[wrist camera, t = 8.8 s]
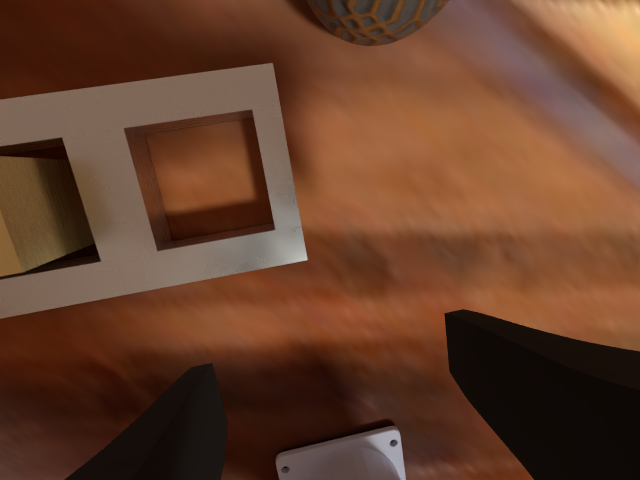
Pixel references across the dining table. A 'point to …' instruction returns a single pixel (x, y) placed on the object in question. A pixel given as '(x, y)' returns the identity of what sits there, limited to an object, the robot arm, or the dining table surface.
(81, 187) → the white slotted frame
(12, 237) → the block
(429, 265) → the dining table surface
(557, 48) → the dining table surface
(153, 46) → the dining table surface
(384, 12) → the vase
